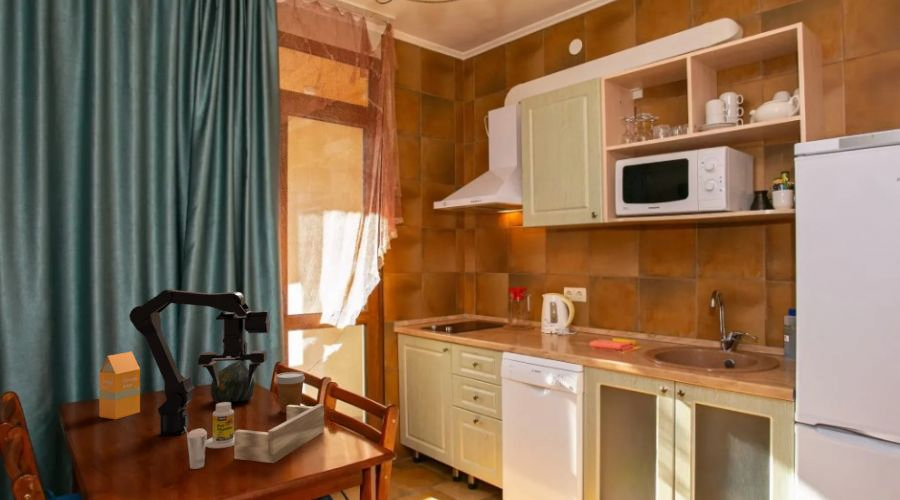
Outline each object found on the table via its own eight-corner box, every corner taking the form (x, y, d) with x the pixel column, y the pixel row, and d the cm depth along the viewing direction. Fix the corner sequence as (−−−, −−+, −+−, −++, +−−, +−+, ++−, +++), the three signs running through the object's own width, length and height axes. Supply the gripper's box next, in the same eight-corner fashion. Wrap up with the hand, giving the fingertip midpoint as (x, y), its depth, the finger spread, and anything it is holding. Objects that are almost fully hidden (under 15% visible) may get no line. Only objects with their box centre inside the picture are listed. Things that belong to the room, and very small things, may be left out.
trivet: (199, 449, 148) (199, 447, 148) (210, 436, 158) (210, 435, 158) (238, 447, 150) (238, 445, 150) (246, 435, 159) (246, 433, 159)
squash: (195, 388, 193) (218, 358, 190) (227, 380, 207) (249, 352, 204) (217, 418, 189) (241, 388, 185) (249, 409, 202) (271, 380, 199)
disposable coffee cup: (310, 407, 188) (310, 372, 188) (295, 415, 179) (295, 378, 179) (285, 405, 190) (285, 371, 190) (269, 413, 181) (269, 377, 181)
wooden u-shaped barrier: (234, 458, 141) (234, 427, 141) (289, 427, 166) (289, 401, 166) (273, 463, 138) (273, 431, 138) (323, 431, 163) (323, 404, 163)
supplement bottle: (214, 445, 150) (214, 407, 150) (210, 439, 155) (210, 403, 155) (236, 441, 153) (236, 404, 153) (231, 435, 158) (231, 400, 158)
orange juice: (98, 416, 178) (98, 355, 178) (124, 409, 186) (124, 350, 186) (115, 419, 175) (115, 356, 175) (140, 411, 183) (140, 352, 183)
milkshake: (187, 463, 138) (187, 423, 138) (209, 462, 139) (209, 423, 139) (180, 470, 134) (180, 429, 134) (203, 469, 134) (203, 428, 134)
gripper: (270, 329, 174) (270, 378, 174) (208, 331, 171) (208, 381, 171) (263, 334, 163) (263, 387, 163) (197, 336, 160) (197, 389, 160)
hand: (233, 386), depth 165 cm, fingers open, 9 cm apart
